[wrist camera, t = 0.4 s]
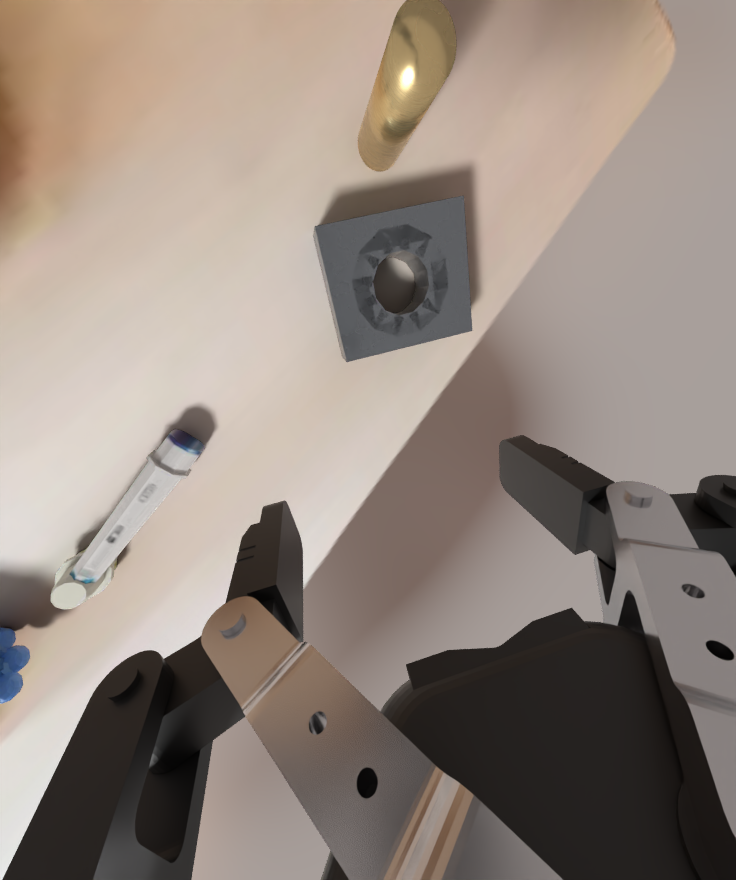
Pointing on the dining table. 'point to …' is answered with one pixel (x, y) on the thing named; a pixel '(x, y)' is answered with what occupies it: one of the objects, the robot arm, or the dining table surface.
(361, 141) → the brass plug
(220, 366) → the dining table surface
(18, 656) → the blue flower
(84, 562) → the white electric toothbrush
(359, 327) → the plate
